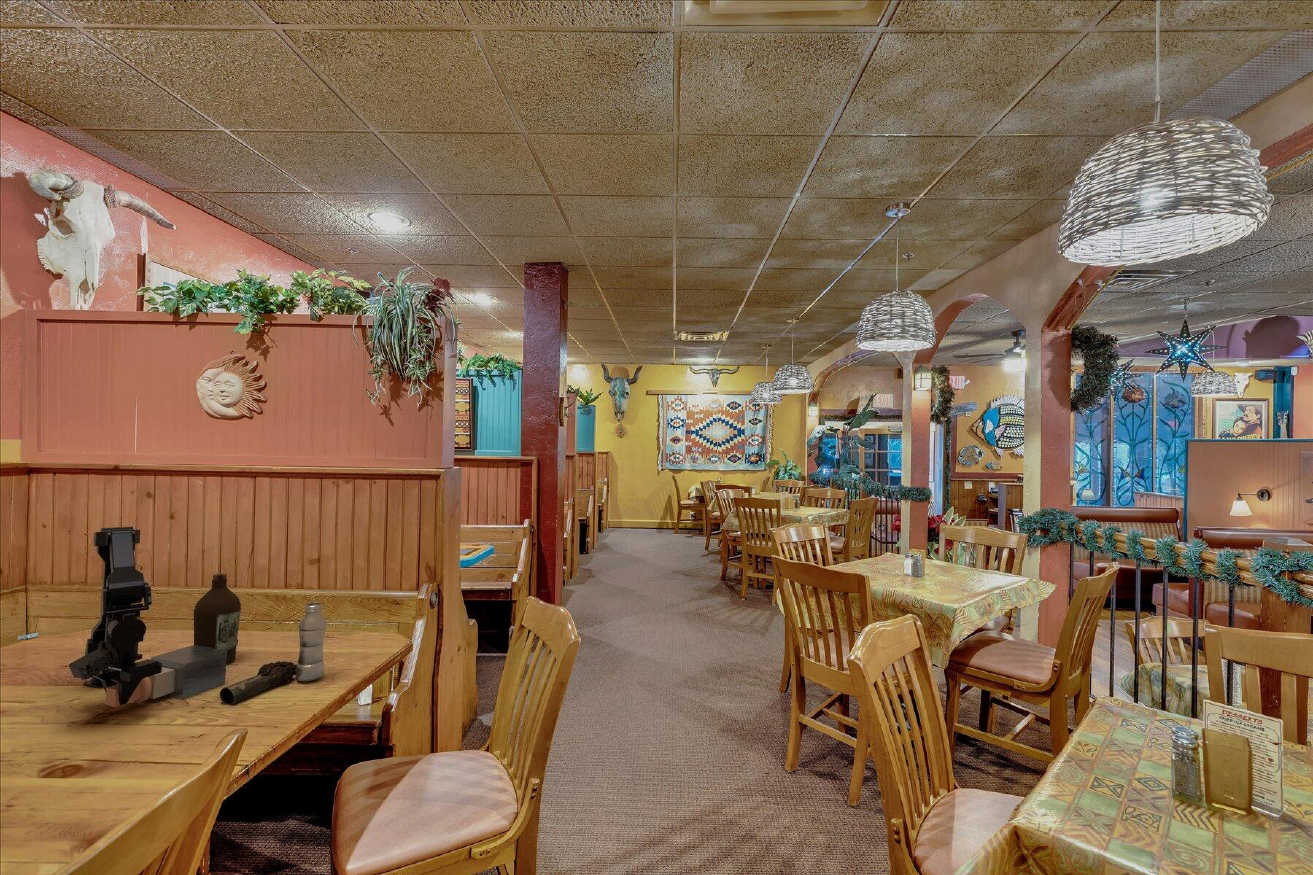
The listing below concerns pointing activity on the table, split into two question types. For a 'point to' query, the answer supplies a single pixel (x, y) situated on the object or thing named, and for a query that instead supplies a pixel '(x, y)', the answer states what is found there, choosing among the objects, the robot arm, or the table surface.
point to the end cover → (146, 688)
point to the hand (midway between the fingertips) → (117, 703)
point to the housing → (195, 669)
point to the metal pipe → (258, 682)
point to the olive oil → (218, 618)
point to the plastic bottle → (311, 643)
